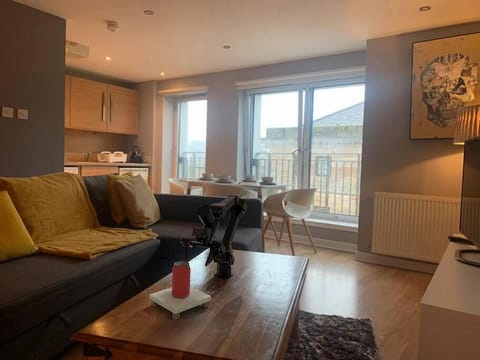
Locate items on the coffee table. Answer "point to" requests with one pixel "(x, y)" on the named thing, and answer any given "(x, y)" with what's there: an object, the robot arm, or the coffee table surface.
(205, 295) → the white square platform
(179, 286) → the beer can
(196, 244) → the robot arm
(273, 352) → the coffee table surface
